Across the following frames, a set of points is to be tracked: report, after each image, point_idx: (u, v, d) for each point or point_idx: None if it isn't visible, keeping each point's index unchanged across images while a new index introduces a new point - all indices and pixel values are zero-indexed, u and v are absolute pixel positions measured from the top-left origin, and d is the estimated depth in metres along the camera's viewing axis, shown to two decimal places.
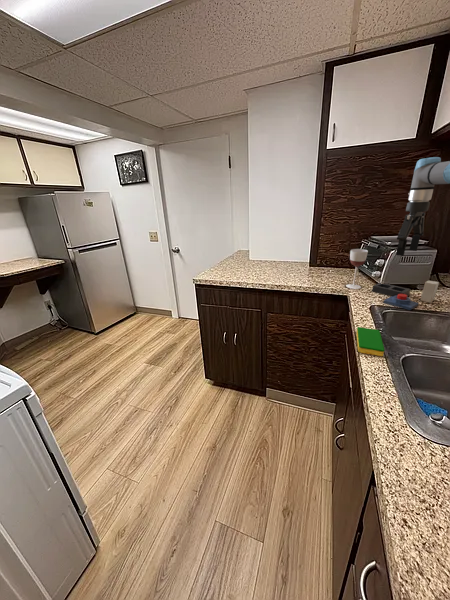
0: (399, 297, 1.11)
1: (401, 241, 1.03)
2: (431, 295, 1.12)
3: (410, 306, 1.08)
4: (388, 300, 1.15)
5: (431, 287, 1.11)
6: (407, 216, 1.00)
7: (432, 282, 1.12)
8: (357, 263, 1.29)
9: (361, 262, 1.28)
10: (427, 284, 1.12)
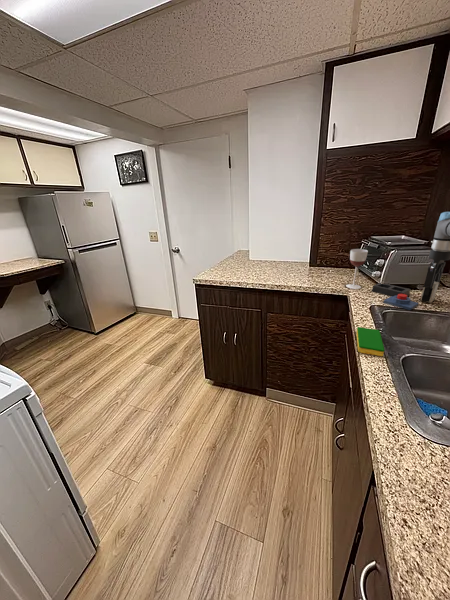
0: (399, 297, 1.11)
1: (427, 289, 1.11)
2: (431, 295, 1.12)
3: (410, 306, 1.08)
4: (388, 300, 1.15)
5: None
6: (430, 268, 1.06)
7: None
8: (357, 263, 1.29)
9: (361, 262, 1.28)
10: None
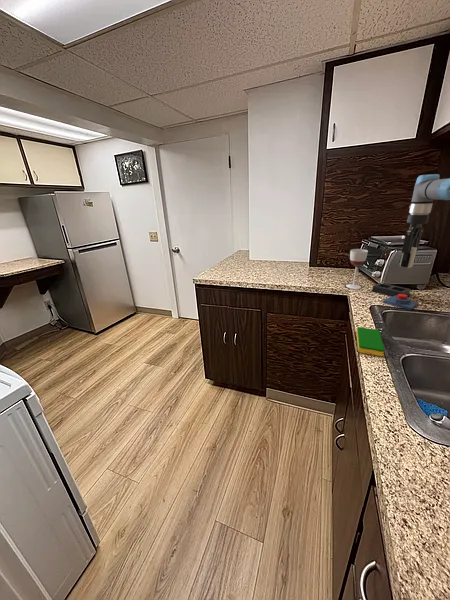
0: (399, 297, 1.11)
1: (405, 254, 1.13)
2: (410, 260, 1.14)
3: (410, 306, 1.08)
4: (388, 300, 1.15)
5: (410, 252, 1.13)
6: (407, 232, 1.08)
7: None
8: (357, 263, 1.29)
9: (361, 262, 1.28)
10: None
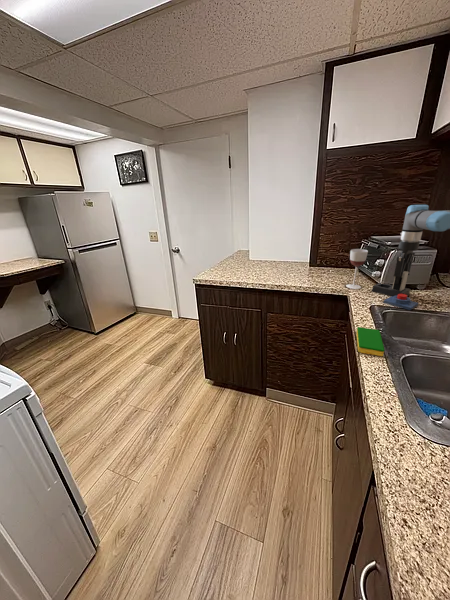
0: (399, 297, 1.11)
1: (397, 278, 1.18)
2: (401, 284, 1.19)
3: (410, 306, 1.08)
4: (388, 300, 1.15)
5: None
6: (398, 258, 1.13)
7: None
8: (357, 263, 1.29)
9: (361, 262, 1.28)
10: None
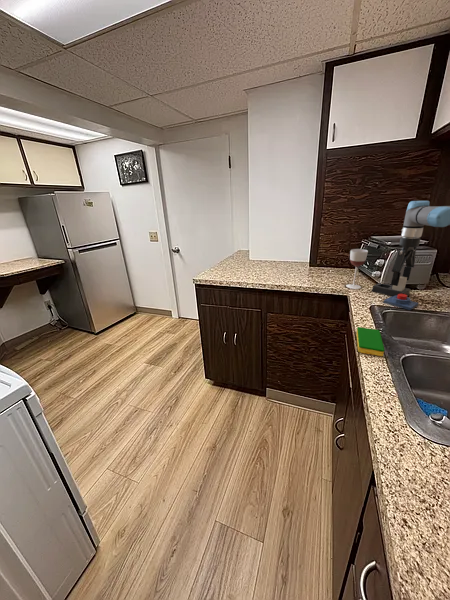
0: (399, 297, 1.11)
1: (395, 273, 1.15)
2: (400, 289, 1.20)
3: (410, 306, 1.08)
4: (388, 300, 1.15)
5: (400, 282, 1.19)
6: (400, 252, 1.12)
7: (401, 277, 1.20)
8: (357, 263, 1.29)
9: (361, 262, 1.28)
10: None
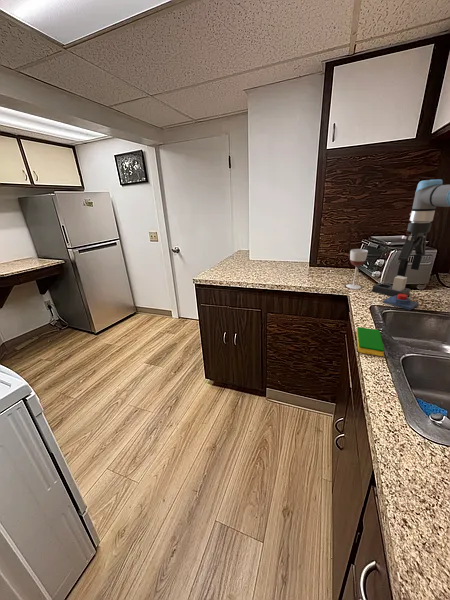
0: (399, 297, 1.11)
1: (402, 262, 1.02)
2: (400, 289, 1.20)
3: (410, 306, 1.08)
4: (388, 300, 1.15)
5: (400, 282, 1.19)
6: (408, 237, 0.99)
7: (401, 277, 1.20)
8: (357, 263, 1.29)
9: (361, 262, 1.28)
10: (396, 279, 1.20)
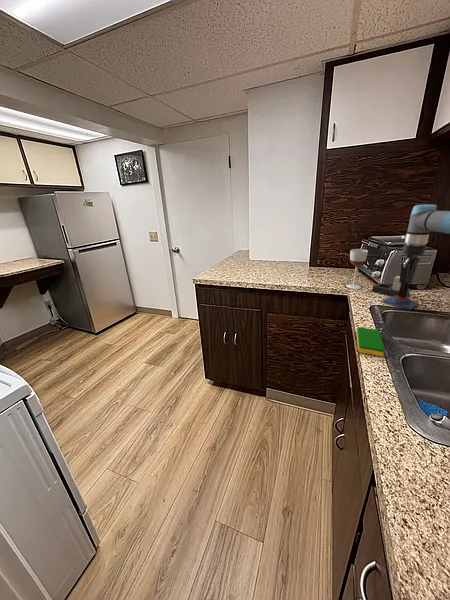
0: None
1: (403, 284, 1.09)
2: None
3: (410, 306, 1.08)
4: (388, 300, 1.15)
5: None
6: (403, 265, 1.03)
7: None
8: (357, 263, 1.29)
9: (361, 262, 1.28)
10: (396, 279, 1.20)
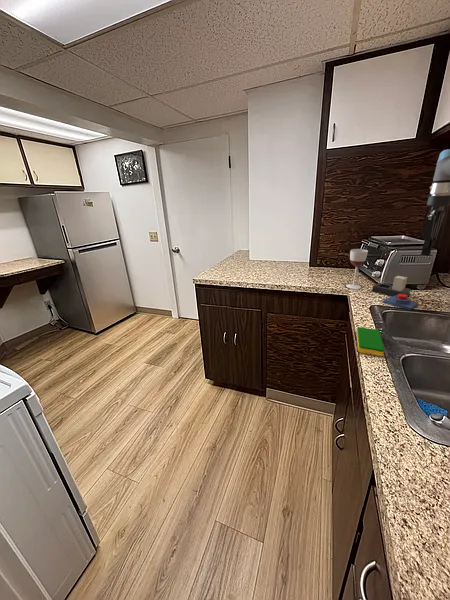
0: (399, 297, 1.11)
1: (427, 241, 1.02)
2: (400, 289, 1.20)
3: (410, 306, 1.08)
4: (388, 300, 1.15)
5: (400, 282, 1.19)
6: (428, 217, 0.96)
7: (401, 277, 1.20)
8: (357, 263, 1.29)
9: (361, 262, 1.28)
10: (396, 279, 1.20)
